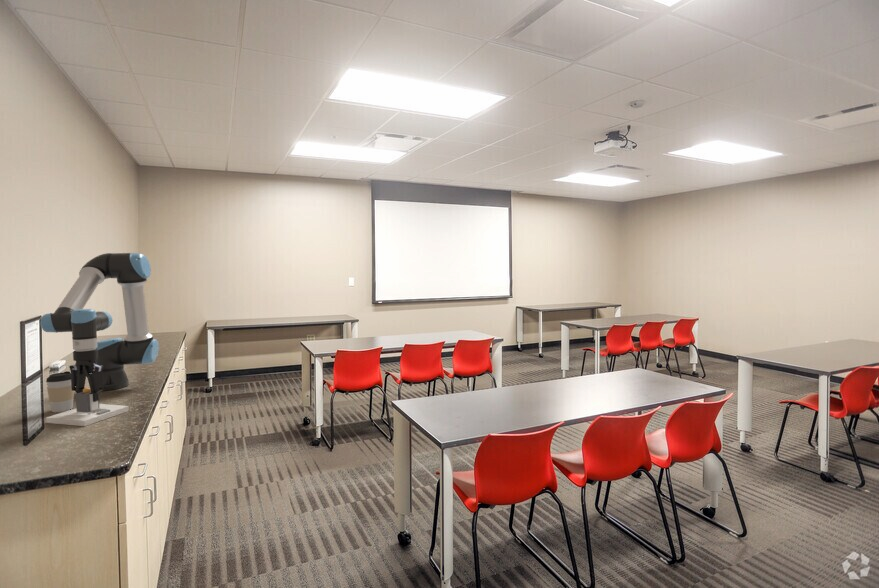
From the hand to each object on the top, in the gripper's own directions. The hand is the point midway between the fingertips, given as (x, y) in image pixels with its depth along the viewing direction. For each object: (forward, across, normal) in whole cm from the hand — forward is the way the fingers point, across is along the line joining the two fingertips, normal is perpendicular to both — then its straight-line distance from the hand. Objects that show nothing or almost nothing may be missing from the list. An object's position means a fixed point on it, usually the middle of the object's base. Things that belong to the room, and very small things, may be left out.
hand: (88, 409), depth 178 cm
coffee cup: (+3, -20, +5) cm, 21 cm away
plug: (0, 0, 0) cm, 0 cm away
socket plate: (+3, 0, 0) cm, 3 cm away
